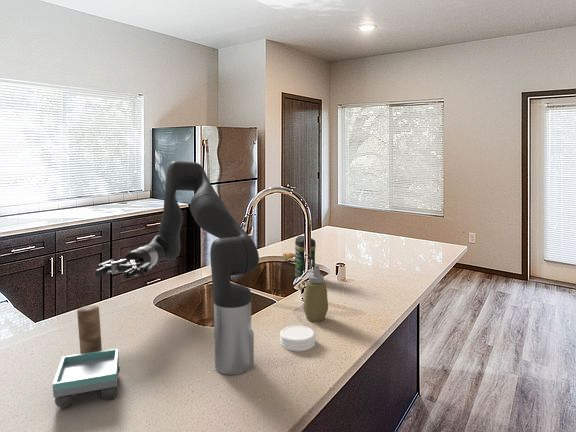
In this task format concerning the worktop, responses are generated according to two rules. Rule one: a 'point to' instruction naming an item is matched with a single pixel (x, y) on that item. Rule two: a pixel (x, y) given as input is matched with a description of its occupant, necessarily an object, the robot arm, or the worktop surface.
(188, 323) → the worktop surface
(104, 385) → the wheeled cart
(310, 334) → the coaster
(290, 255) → the pastry
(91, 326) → the cylinder
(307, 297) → the squeeze bottle
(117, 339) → the worktop surface
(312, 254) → the coffee jar
